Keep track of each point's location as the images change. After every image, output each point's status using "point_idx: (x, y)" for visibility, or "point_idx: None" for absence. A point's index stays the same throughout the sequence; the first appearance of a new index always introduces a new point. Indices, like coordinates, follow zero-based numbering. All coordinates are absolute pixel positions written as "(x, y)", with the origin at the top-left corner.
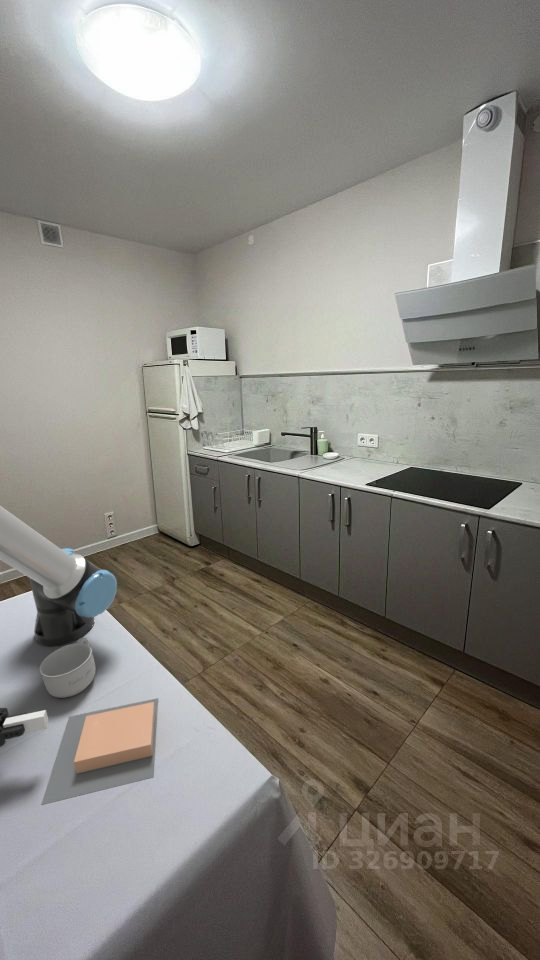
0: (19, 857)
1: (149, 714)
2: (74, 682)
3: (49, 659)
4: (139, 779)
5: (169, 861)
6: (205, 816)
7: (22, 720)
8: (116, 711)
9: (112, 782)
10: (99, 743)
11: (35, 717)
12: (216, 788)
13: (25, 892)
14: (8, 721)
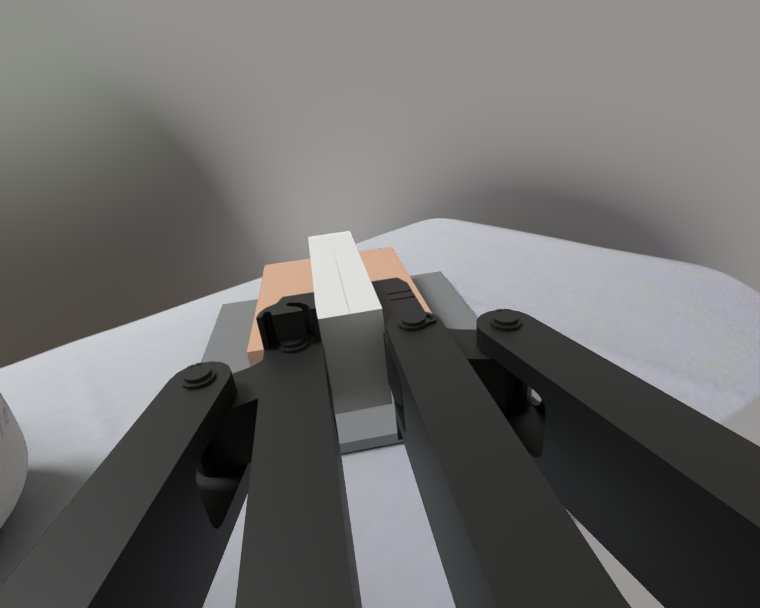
0: (692, 403)
1: (304, 262)
2: (5, 411)
3: None
4: (446, 281)
5: (567, 246)
6: (495, 236)
7: (360, 261)
8: (264, 303)
9: (456, 308)
10: None
11: (350, 241)
12: (452, 236)
13: (739, 359)
14: (352, 300)
